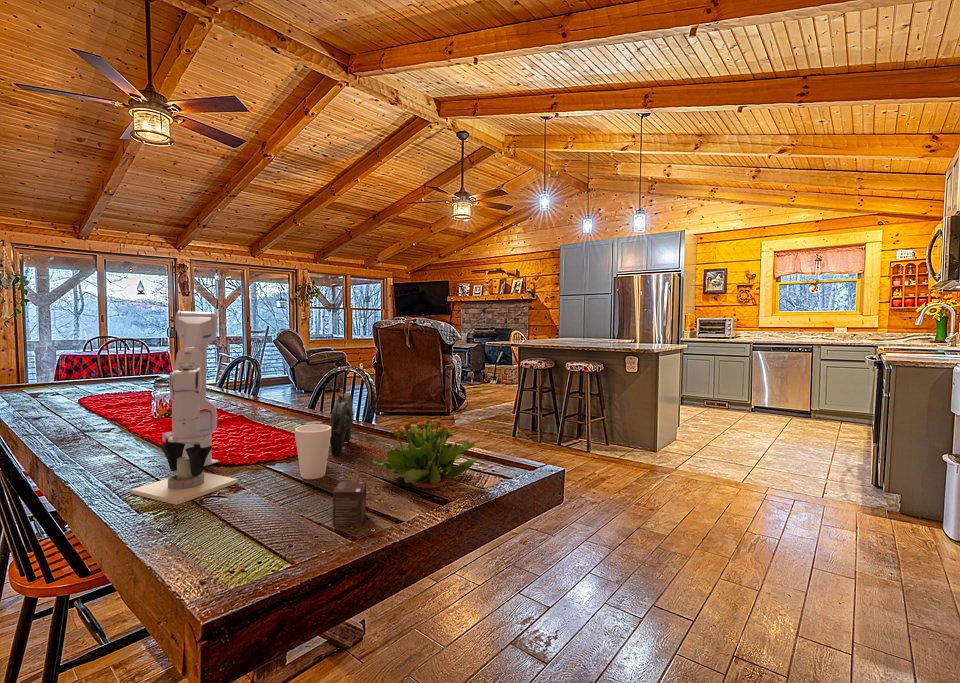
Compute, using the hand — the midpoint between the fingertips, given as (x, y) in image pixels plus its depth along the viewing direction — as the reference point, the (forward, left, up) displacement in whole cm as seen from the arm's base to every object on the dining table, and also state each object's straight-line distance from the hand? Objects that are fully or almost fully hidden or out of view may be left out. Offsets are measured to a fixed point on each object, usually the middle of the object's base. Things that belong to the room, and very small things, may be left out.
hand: (186, 472), depth 115 cm
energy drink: (+13, +30, -4) cm, 33 cm away
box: (+48, +2, -4) cm, 48 cm away
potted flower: (+53, +30, -4) cm, 61 cm away
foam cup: (+21, +21, -4) cm, 30 cm away
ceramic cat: (+10, +47, -4) cm, 48 cm away
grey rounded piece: (0, 0, -3) cm, 3 cm away
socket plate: (0, 0, -4) cm, 4 cm away
